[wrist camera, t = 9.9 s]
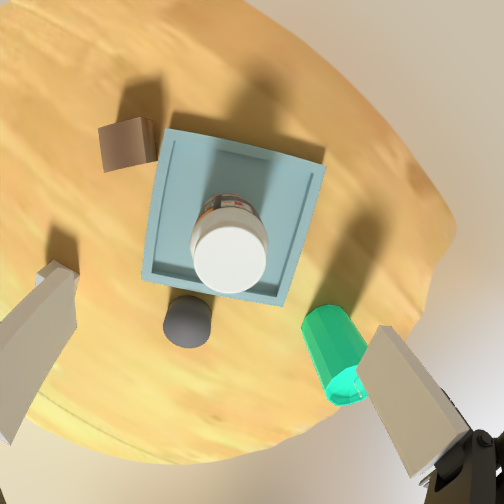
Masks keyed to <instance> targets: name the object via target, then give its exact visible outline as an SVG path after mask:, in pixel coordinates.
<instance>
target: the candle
mask: <svg viewBox="0 0 504 504" xmlns="http://www.w3.org/2000/svg"><path fill="white" fill-rule="evenodd" d="M301 329H302V333H303V337H304V340H305V343H306V345H307V348H308V350H309V353H310V355H311V358H312V361H313V363H314V366H315V368H316V371H317V374H318V376H319V379H320V382H321V384H322V387H323V390H324V392H325V395H326V397H327V400H329V401H330V402H331V403H333V404H334V405H336V406H343V405H350V404H353V403H356V402H358V401H361V400H364V399H365V398H366V397H367V396H368V394H367V392H366V390H365V388H364V386H363V384H362V382H361V380H360V379H359V377H358V375H357V373H356V371H355V369H356V368H357V366H358V364H359V363H360V361H361V359H362V357H363V355H364V354H365V352H366V350H367V348H368V345H367V343H366V342H365V340H364V339H363V337H362V336H361V334H360V333H359V331H358V330H357V328H356V327H355V325H354V324H353V322H352V321H351V319H350V318H349V316H348V315H347V313H346V312H345V311H344V310H343V309H342V308H341V307H340V306H337V305H330V304H327V305H324V306H321V307H318V308H315V309H314V310H313V311H312V312H310V313H309V314H308V315H307V316H306V317H305V319H304V322H303V324H302V327H301Z"/></svg>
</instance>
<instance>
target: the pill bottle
mask: <svg viewBox="0 0 504 504" xmlns="http://www.w3.org/2000/svg"><path fill="white" fill-rule="evenodd" d="M267 250H268V236H267V232H266V230H265V227H264V225H263V223H262V221H261V219H260V217H259V215H258V212H257V210H256V209H255V207H254V206H253V204H252V203H251V202H250V201H249V200H248V199H247V198H245V197H243V196H241V195H239V194H236V193H222V194H218V195H216V196H214V197H212V198H210V199H209V200H208V201H207V202H206V203H205V204H204V205H203V207H202V208H201V210H200V212H199V215H198V218H197V220H196V223H195V225H194V228H193V231H192V234H191V237H190V251H191V255H192V258H193V264H194V268H195V271H196V273H197V275H198V277H199V278H200V280H201V281H202V282H203V283H204V284H205V285H206V286H208V287H209V288H211V289H213V290H215V291H218V292H221V293H238V292H242V291H245V290H247V289H249V288H250V287H252V286H253V285H255V284H256V283H257V282H258V281H259V279H260V278H261V276H262V275H263V273H264V271H265V268H266V262H267V256H266V255H267Z"/></svg>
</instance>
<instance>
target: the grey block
mask: <svg viewBox="0 0 504 504" xmlns="http://www.w3.org/2000/svg"><path fill="white" fill-rule="evenodd" d="M58 267H59V268H63V269H67V270H70V271H72V270H71V269H69V268H67V267H65V266H64V265H62V264H60V263H58V262H57V261H55V260H52V261H51V262H50V263H49V264H47V265H46V266H45V267H44V268H42V269H41V270H40V271H39V272H38V273H37V275H36V282H35V288H36V287H37V286H38V285H39V284H40V283H41V282H42V281H43V280H44V279H45V278H46V277H48V276H49V275H50V274H51V273H52V272H53V271H54V270H55V269H57V268H58ZM73 274H74V297H75V294H76V290H77V285H78V281H79V277H80V275H79V274H78V273H76V272H74V271H73Z"/></svg>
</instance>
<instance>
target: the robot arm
mask: <svg viewBox="0 0 504 504" xmlns="http://www.w3.org/2000/svg"><path fill="white" fill-rule="evenodd" d="M76 328H77V322H76V311H75V297H74V274H73V271H70V270H67V269H63V268H59V267H58V268H57V269H55V270H54V271H53V272H52V273H51V274H50V275H49V276H48V277H46V278H45V279H44V280H43V281H42V282H41V283H40V284H39V285H38V286H37V287H36V288H35V289H33V290H32V291H31V292H30V293H29V294H28V295H27V296H26V297H25V298H24V299H23V300H22V301H21V302H20V303H19V304H18V305H17V306H16V307H15V308H14V309H13V310H12V311H11V312H10V313H9V314H8V315H7V316H6V317H5V318H4V319H3V320H2V321H1V322H0V440H2V441H3V442H5V443H7V444H8V445H10V446H11V443H12V441H13V439H14V437H15V435H16V433H17V431H18V429H19V427H20V425H21V422H22V420H23V418H24V417H25V415H26V413H27V411H28V409H29V407H30V405H31V403H32V401H33V399H34V398H35V396H36V394H37V392H38V390H39V388H40V387H41V385H42V383H43V381H44V380H45V378H46V376H47V375H48V373H49V371H50V369H51V368H52V366H53V364H54V363H55V361H56V360H57V358H58V356H59V355H60V353H61V351H62V350H63V348H64V347H65V345H66V344H67V342H68V340H69V339H70V337H71V336H72V334H73V333H74V331H75V330H76ZM355 371H356V373H357V375H358V377H359V379H360V380H361V382H362V384H363V386H364V388H365V390H366V392H367V394H368V396H369V397H370V399H371V401H372V403H373V405H374V407H375V409H376V411H377V413H378V415H379V417H380V419H381V421H382V422H383V424H384V426H385V428H386V430H387V432H388V434H389V436H390V438H391V440H392V442H393V444H394V446H395V448H396V450H397V452H398V454H399V456H400V458H401V460H402V462H403V464H404V466H405V469H406V470H407V473H408V475H409V477H410V478H412V477H415V476H418V475H421V474H423V473H425V472H426V471H427V470H428V469H429V468H430V467H432V466H433V465H434V466H435V468H436V469H435V470H434V471H433V472H431V473H430V474H429V475H428V476H427V477H425V478H424V479H423V480H422V481H421V482H420V484H419V486H421V485H423V484H424V483H425V482H426V481H428V480H430V481H429V482H428V483H427V484H425V485H424V487H426V488H428V490H427V494H426V499H425V503H424V504H504V432H503V433H502V434H501V435H500V436H499V437H498V438H492V437H491V436H490V435H489V434H488V433H487V432H485V431H484V430H479V429H478V430H475V431H473V430H472V429H471V427H470V426H469V425H468V423H467V422H466V420H465V419H464V417H463V416H462V415H461V413H460V412H459V410H458V409H457V408H456V407H455V405H454V404H453V402H452V401H450V398H449V397H448V395H447V394H446V393H445V391H444V390H443V389H441V388H440V387H439V386H438V385H437V383H436V382H435V380H434V379H433V378H432V376H431V375H430V374H429V373H428V371H427V370H426V369H425V367H424V366H423V365H422V364H421V362H420V361H419V360H418V359H417V357H416V356H415V355H414V353H413V352H412V351H411V350H410V348H409V347H408V346H407V345H406V343H405V342H404V341H403V340H402V339H401V337H400V336H399V335H398V334H397V332H396V331H395V330H394V329H393V328H392V326H381V325H379V327H378V329H377V331H376V333H375V335H374V337H373V339H372V341H371V342H370V344H369V346H368V348H367V350H366V352H365V354H364V355H363V357H362V359H361V361H360V363H359V364H358V366H357V368H356V369H355ZM500 467H501V468H502V472H501V473H500V474H499V475H498V476H497V477H496V470H497V469H499V468H500ZM0 504H6V502H5V499H4V497H3V494H2V491H1V489H0Z"/></svg>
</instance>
